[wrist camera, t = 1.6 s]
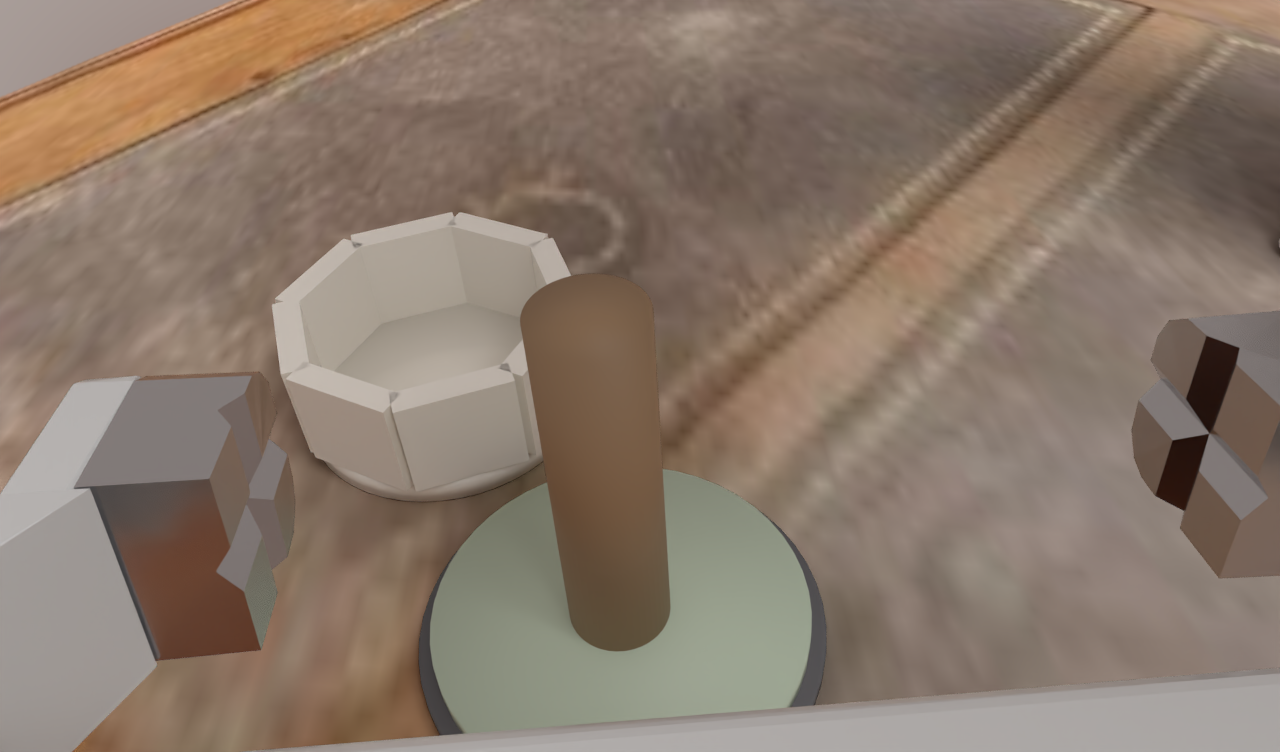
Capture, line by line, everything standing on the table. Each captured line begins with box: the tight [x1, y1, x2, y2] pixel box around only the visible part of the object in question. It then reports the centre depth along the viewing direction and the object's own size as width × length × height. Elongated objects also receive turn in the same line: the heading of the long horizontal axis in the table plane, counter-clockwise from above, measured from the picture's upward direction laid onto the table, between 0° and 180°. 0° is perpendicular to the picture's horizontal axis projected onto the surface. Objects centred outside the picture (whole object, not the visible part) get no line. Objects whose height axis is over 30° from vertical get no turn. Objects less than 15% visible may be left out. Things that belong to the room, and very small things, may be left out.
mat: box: [419, 510, 826, 736], centre depth 34 cm, size 13×13×1 cm
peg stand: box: [430, 274, 812, 734], centre depth 30 cm, size 12×12×13 cm
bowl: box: [272, 212, 571, 502], centre depth 41 cm, size 11×11×5 cm
